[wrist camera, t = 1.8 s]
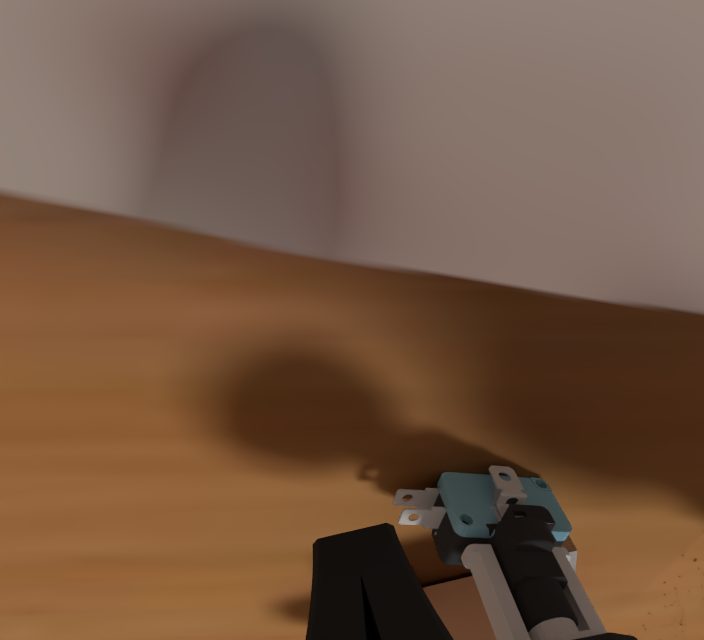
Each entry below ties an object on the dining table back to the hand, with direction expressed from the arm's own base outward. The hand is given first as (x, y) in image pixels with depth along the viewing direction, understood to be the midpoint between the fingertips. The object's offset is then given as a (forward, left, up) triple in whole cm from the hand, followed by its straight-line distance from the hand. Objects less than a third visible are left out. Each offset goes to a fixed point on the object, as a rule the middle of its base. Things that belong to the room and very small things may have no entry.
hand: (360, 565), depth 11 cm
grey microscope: (-5, +10, -10) cm, 15 cm away
